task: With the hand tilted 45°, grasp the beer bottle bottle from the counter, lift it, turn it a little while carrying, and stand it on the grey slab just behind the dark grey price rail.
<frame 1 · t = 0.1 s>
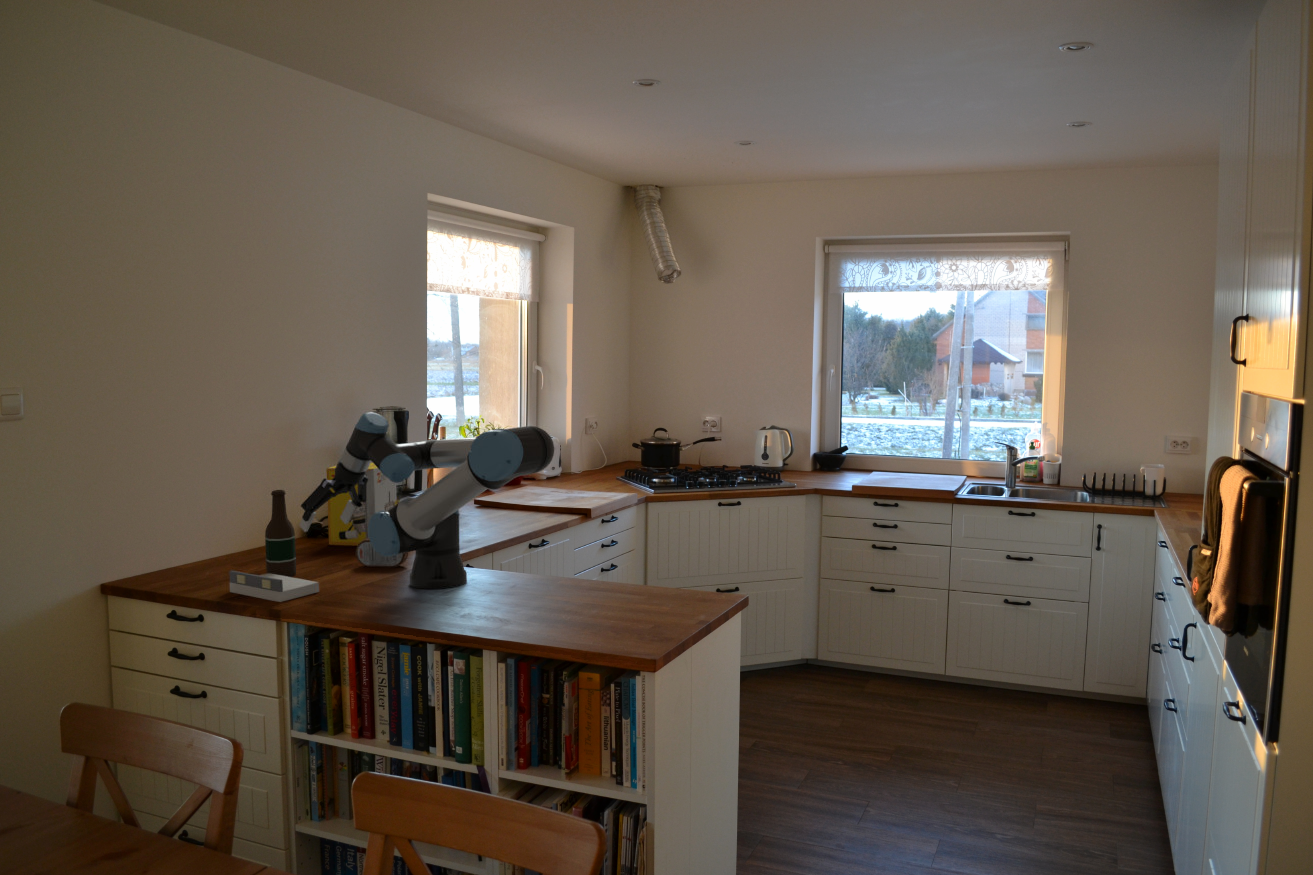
hand: (323, 524, 263), 15 cm above the table, tool tilted 35°, fingers open, 13 cm apart
beer bottle: (281, 575, 270), on the table
tin: (381, 567, 280), on the table
packaging box: (364, 541, 318), on the table
grey slab: (274, 591, 252), on the table
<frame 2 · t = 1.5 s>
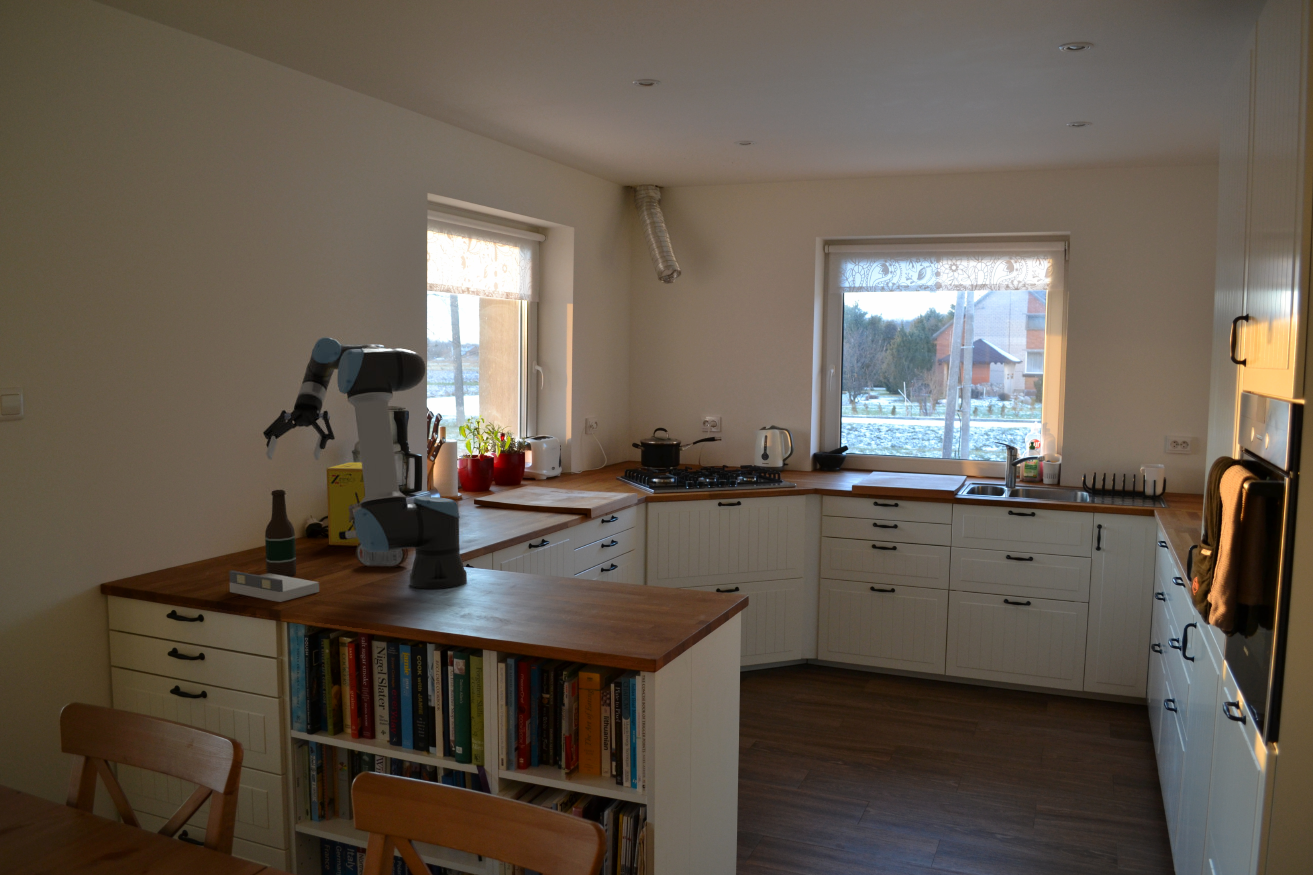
hand: (292, 456, 276), 32 cm above the table, tool tilted 45°, fingers open, 13 cm apart
nothing on the table moved.
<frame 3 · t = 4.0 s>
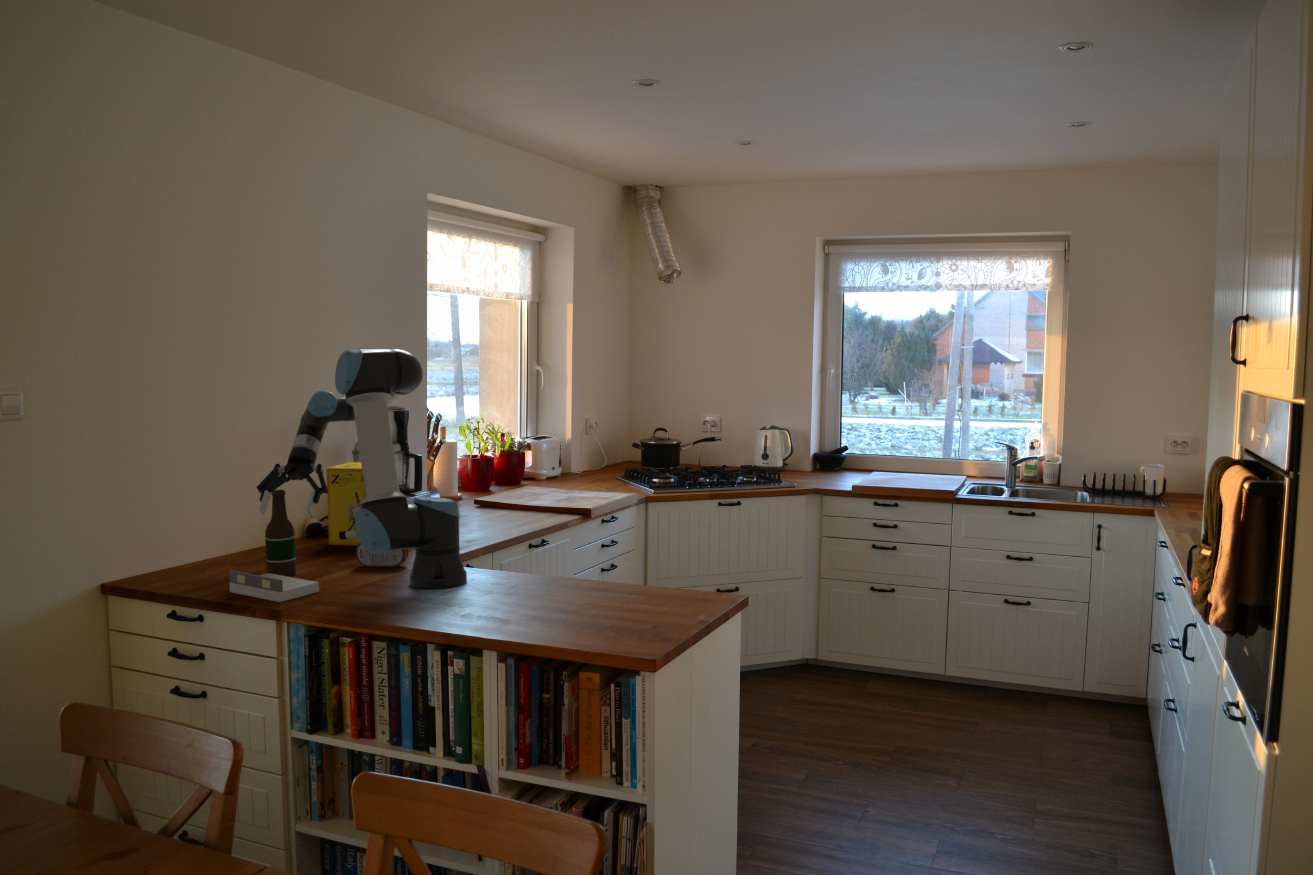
hand: (285, 511, 274), 17 cm above the table, tool tilted 45°, fingers open, 13 cm apart
nothing on the table moved.
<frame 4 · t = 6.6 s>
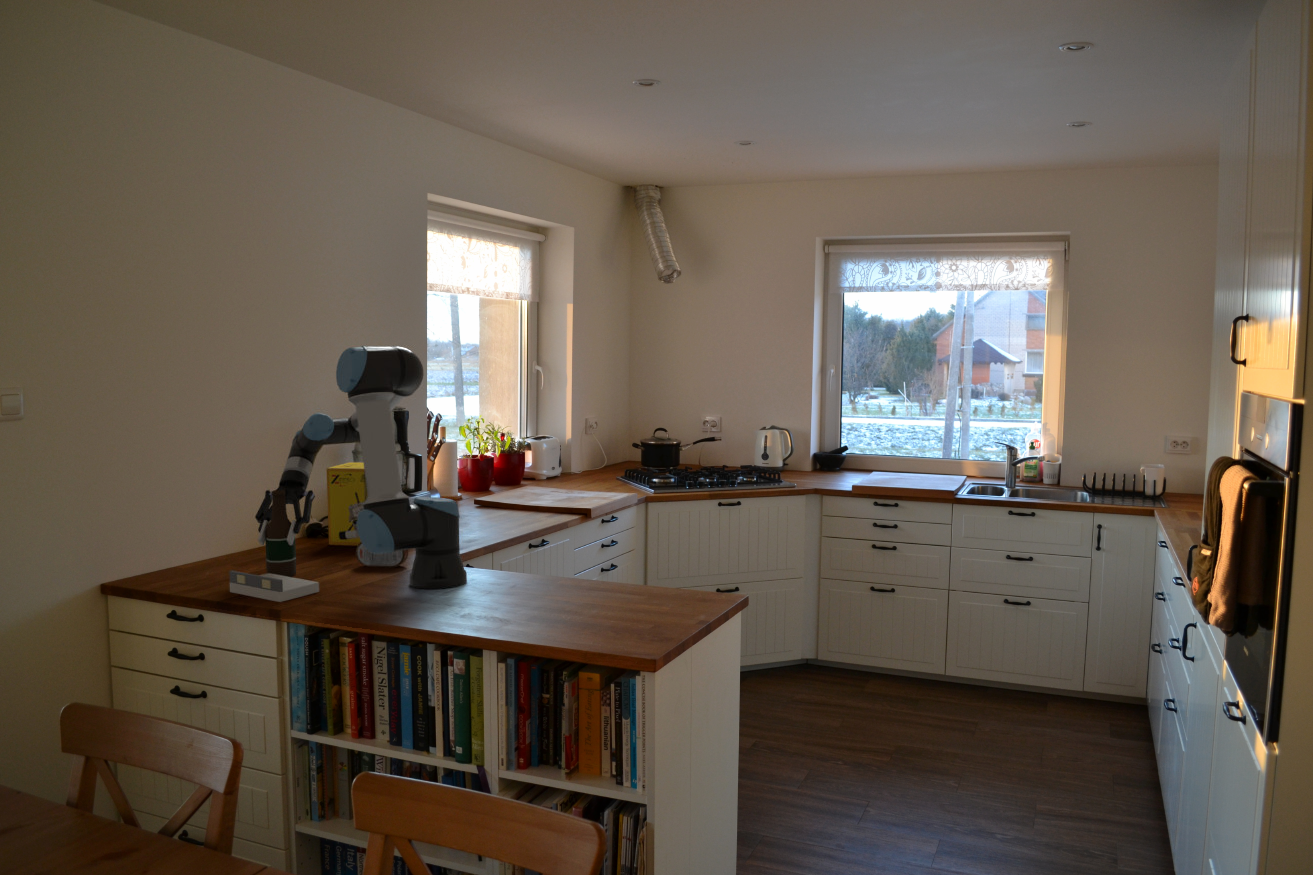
hand: (275, 542, 266), 10 cm above the table, tool tilted 45°, fingers closed on beer bottle, 7 cm apart
beer bottle: (281, 575, 270), on the table, touching gripper
everything else where it was.
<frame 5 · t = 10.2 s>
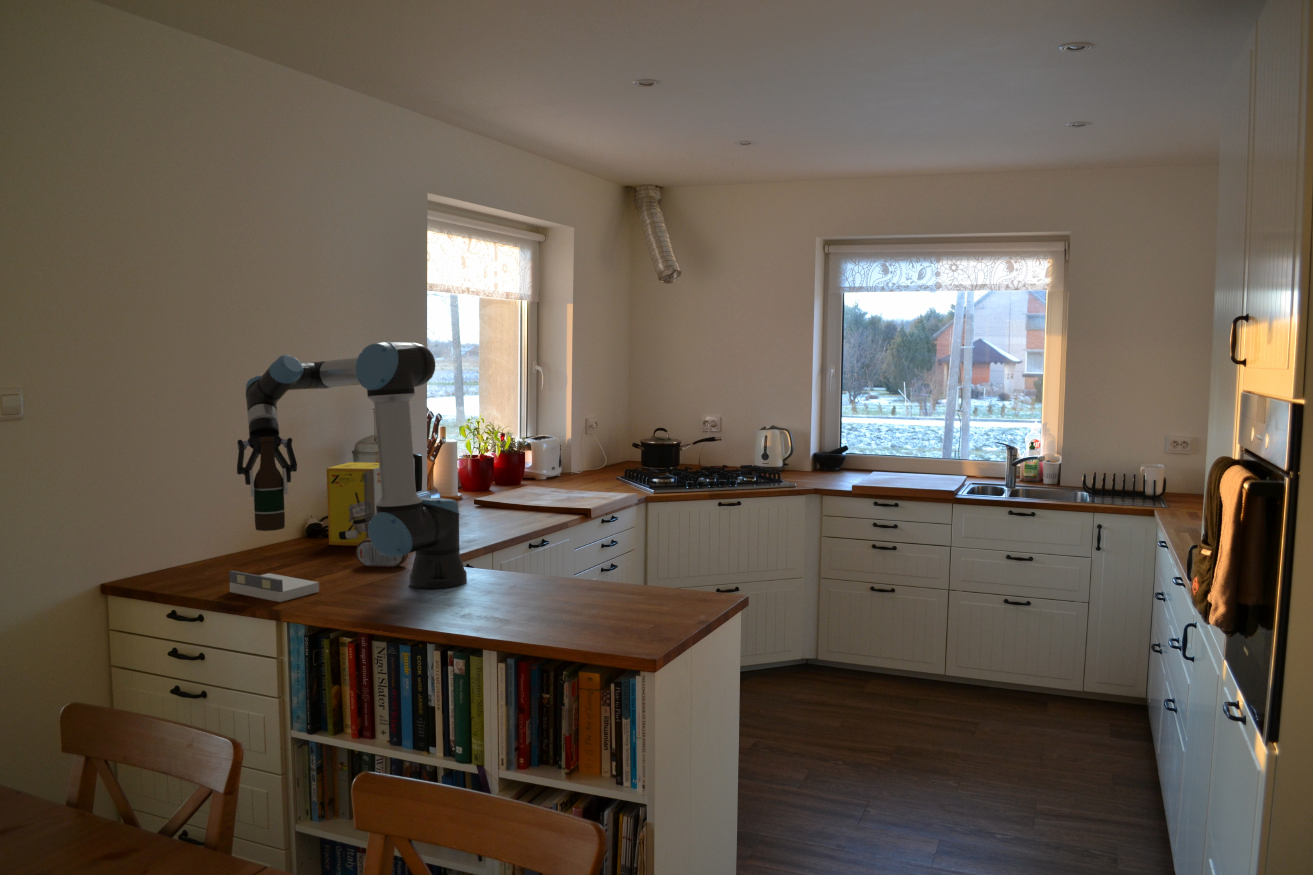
hand: (269, 492, 248), 26 cm above the table, tool tilted 45°, fingers closed on beer bottle, 7 cm apart
beer bottle: (270, 529, 252), point 16 cm above the table, touching gripper
everything else where it was.
when the fingers open (14 cm above the table, at t = 13.9 s): beer bottle drops 1 cm, resting on grey slab.
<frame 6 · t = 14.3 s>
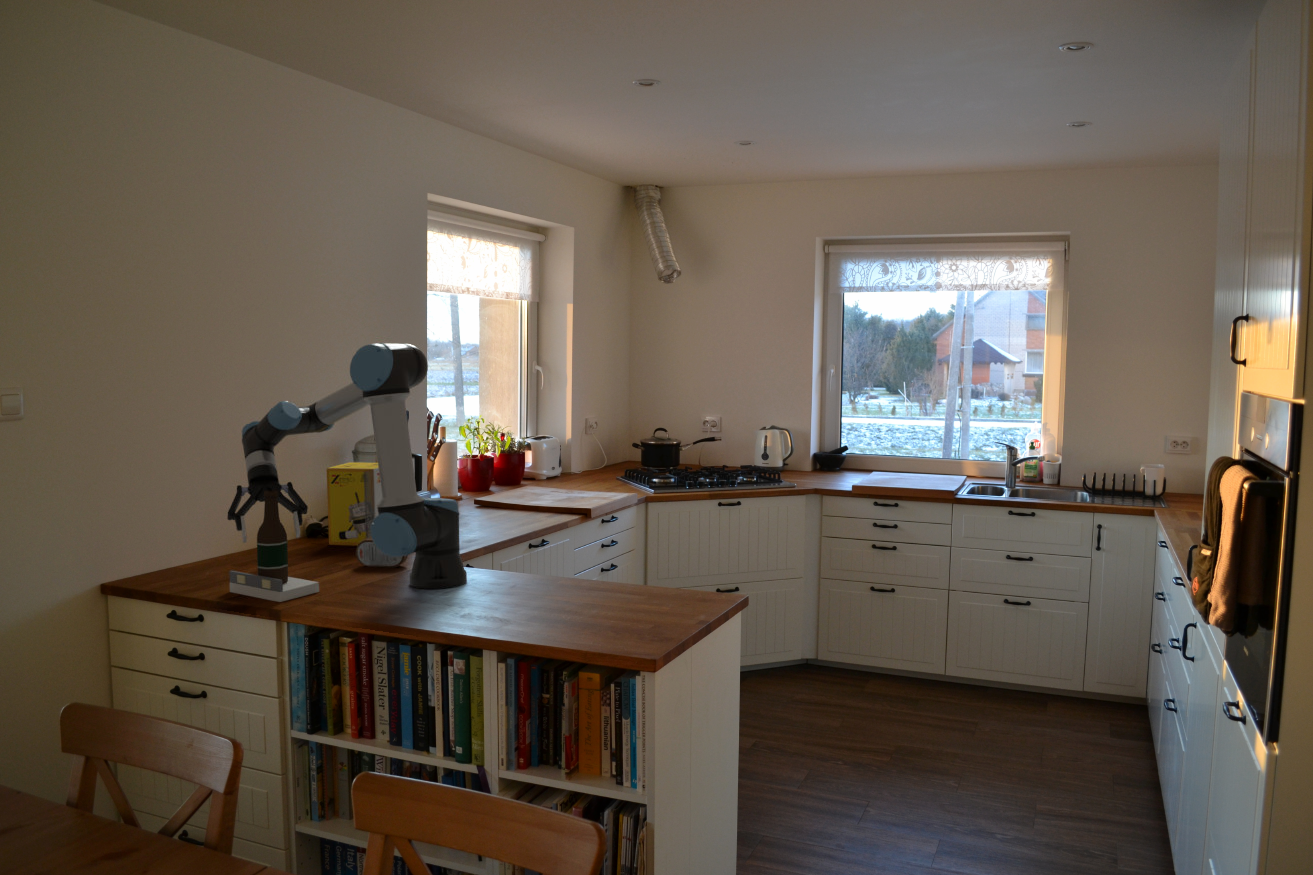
hand: (271, 537, 248), 15 cm above the table, tool tilted 45°, fingers open, 12 cm apart
beer bottle: (273, 582, 251), point 2 cm above the table, touching grey slab
everything else where it was.
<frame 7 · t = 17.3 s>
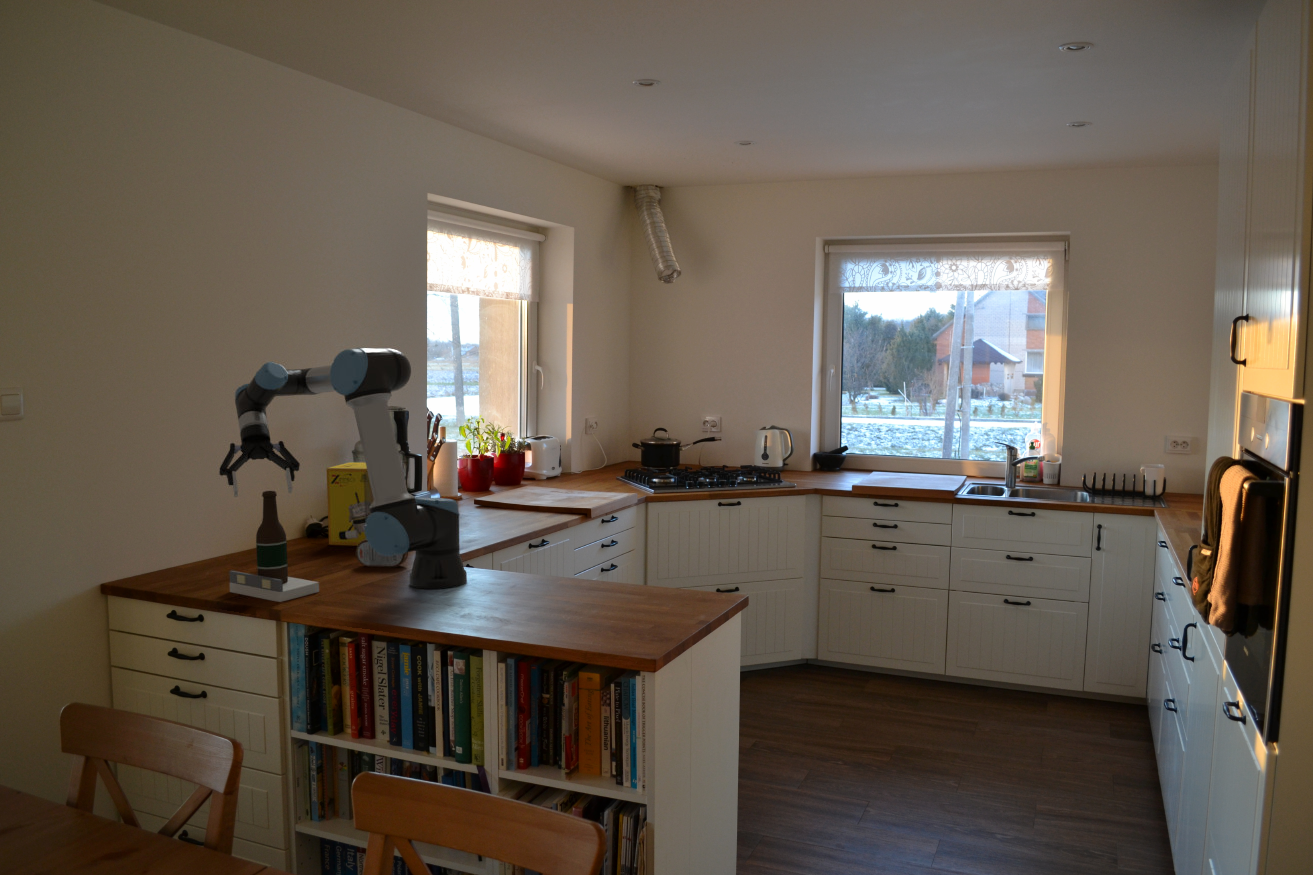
hand: (263, 491, 258), 25 cm above the table, tool tilted 45°, fingers open, 13 cm apart
nothing on the table moved.
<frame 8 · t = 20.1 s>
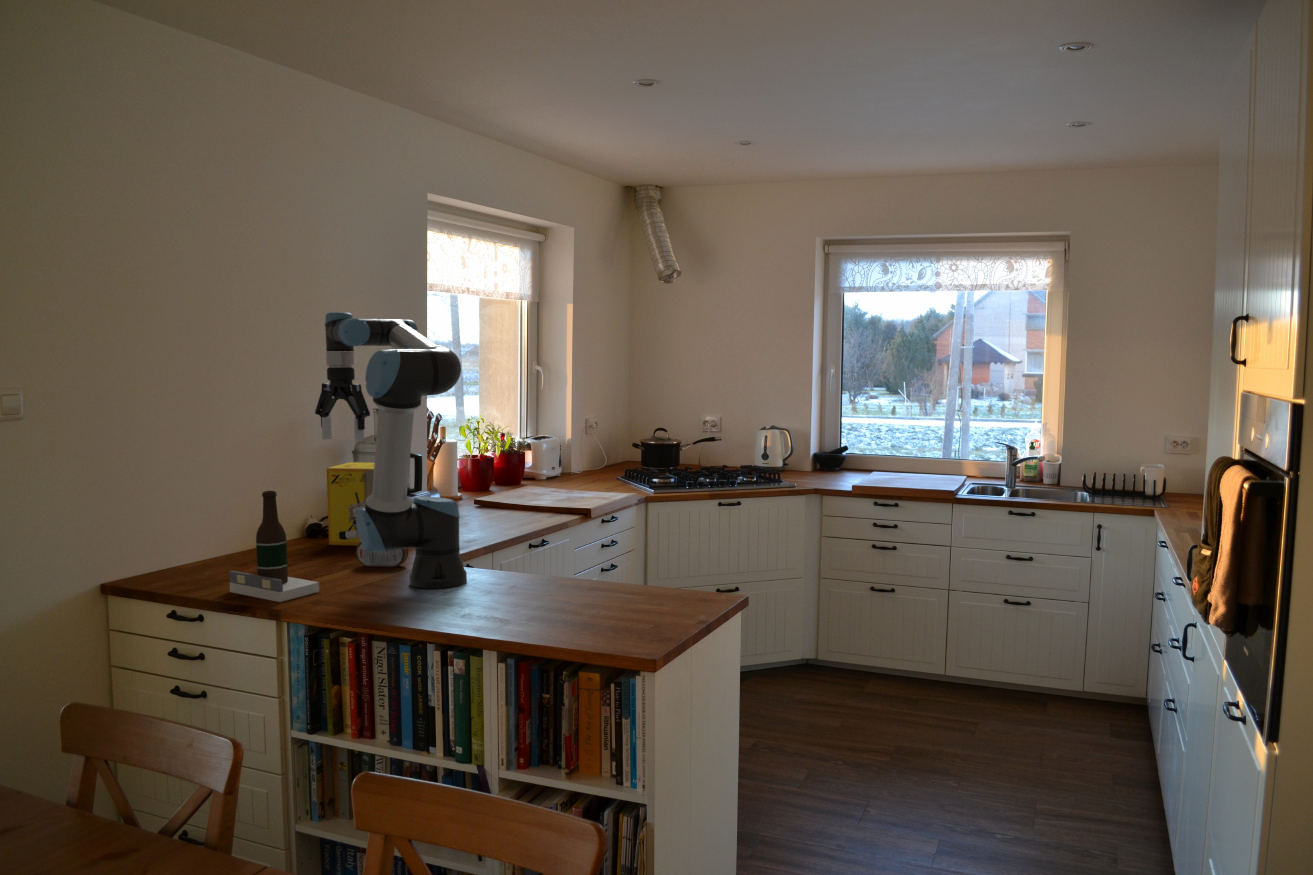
hand: (343, 440, 279), 37 cm above the table, tool pointing down, fingers open, 13 cm apart
nothing on the table moved.
at the end: beer bottle inside the target area on the grey slab (0.9 cm from its centre), point 2.3 cm above the grey slab's base; beer bottle tilted 0°; the gripper is holding nothing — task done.
